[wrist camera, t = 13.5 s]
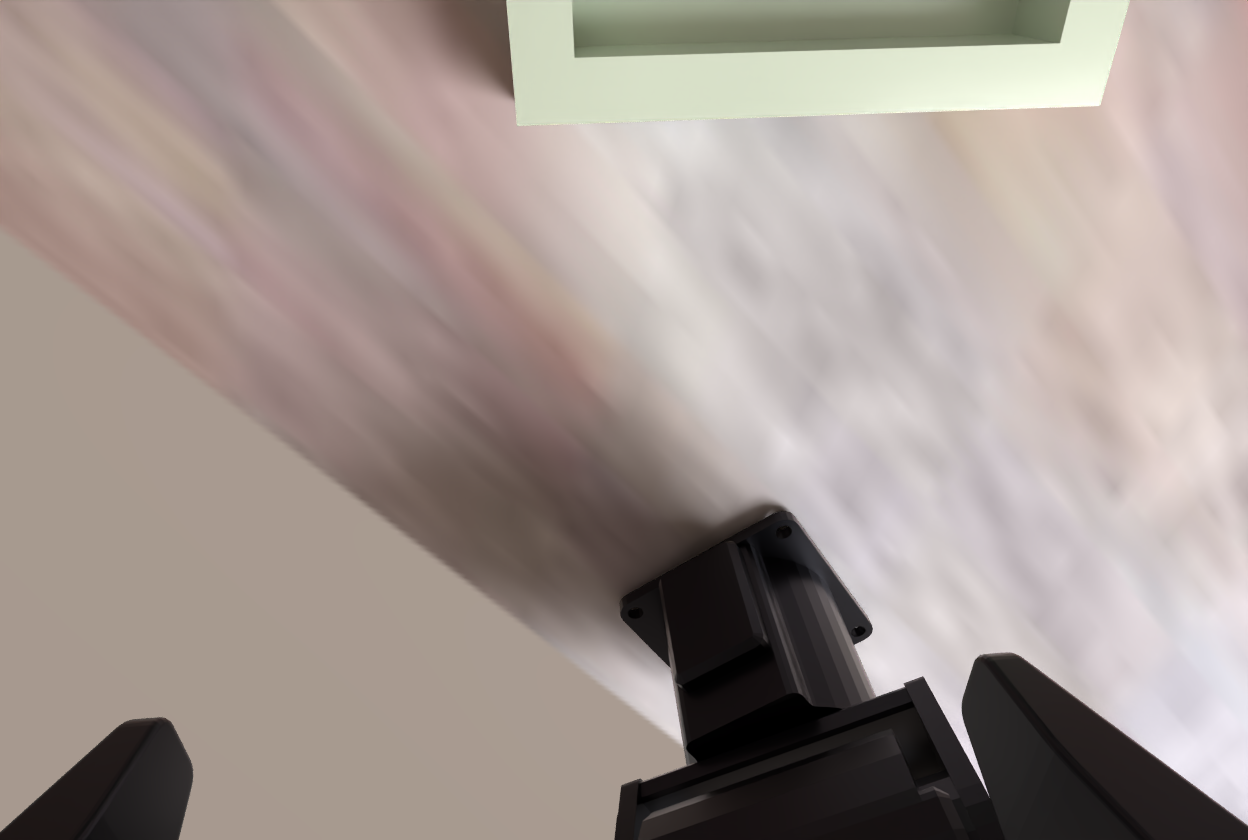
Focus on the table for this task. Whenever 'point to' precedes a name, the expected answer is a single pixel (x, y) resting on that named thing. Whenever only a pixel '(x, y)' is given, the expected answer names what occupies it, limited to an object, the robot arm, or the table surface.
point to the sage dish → (804, 57)
